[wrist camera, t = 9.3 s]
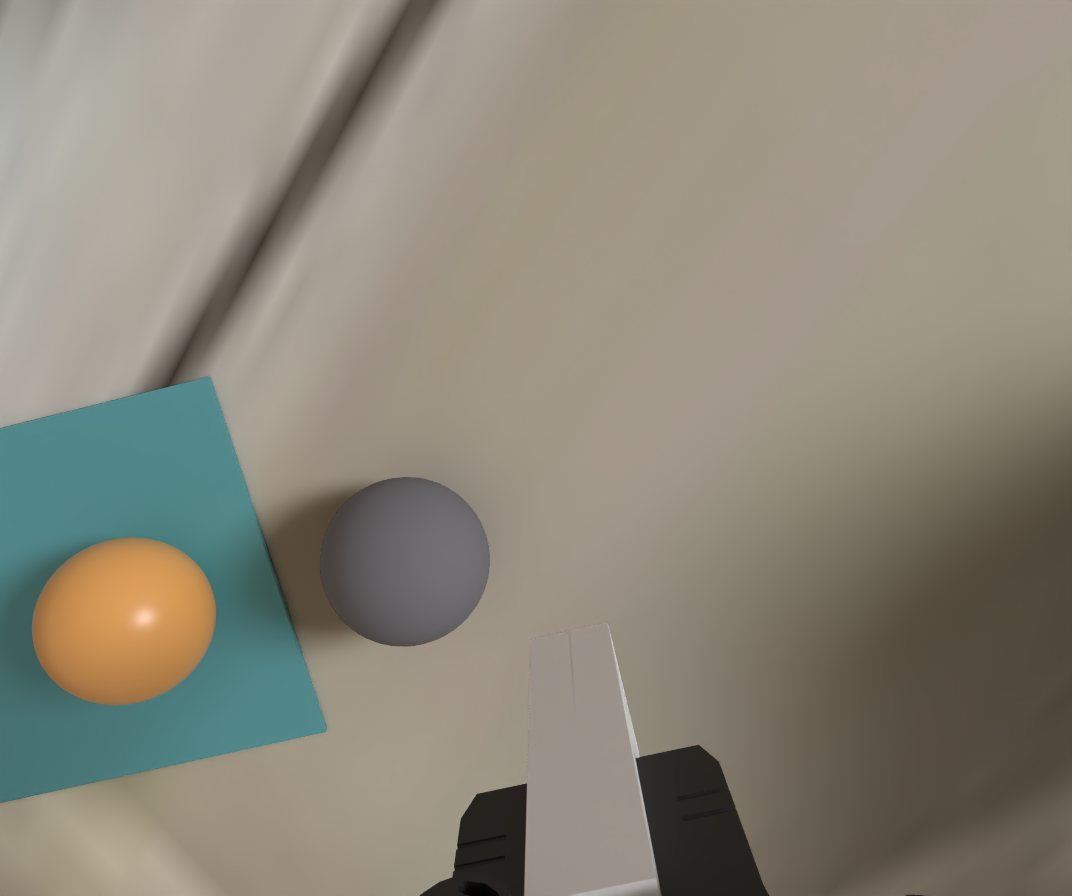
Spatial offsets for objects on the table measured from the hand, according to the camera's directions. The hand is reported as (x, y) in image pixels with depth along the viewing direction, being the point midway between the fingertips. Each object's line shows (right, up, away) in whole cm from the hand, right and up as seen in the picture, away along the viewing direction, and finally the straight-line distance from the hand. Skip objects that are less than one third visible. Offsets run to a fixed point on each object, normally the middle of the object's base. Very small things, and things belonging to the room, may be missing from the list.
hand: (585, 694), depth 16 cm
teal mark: (-17, -1, +15) cm, 23 cm away
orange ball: (-15, -1, +12) cm, 19 cm away
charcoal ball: (-5, +1, +11) cm, 12 cm away
